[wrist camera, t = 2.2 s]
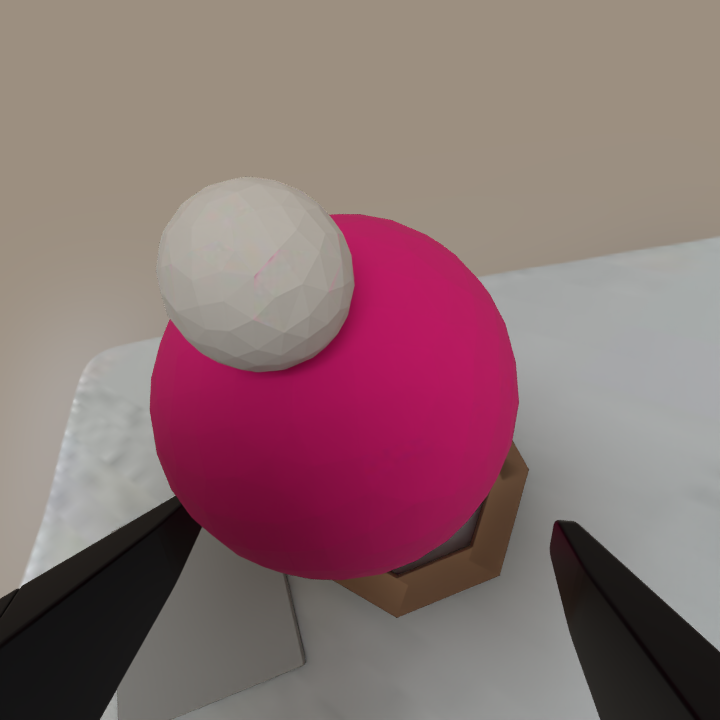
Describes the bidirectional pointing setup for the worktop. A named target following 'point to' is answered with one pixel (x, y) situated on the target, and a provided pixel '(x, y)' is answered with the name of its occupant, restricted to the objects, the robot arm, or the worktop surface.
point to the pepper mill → (324, 382)
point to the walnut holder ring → (455, 553)
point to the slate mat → (212, 636)
